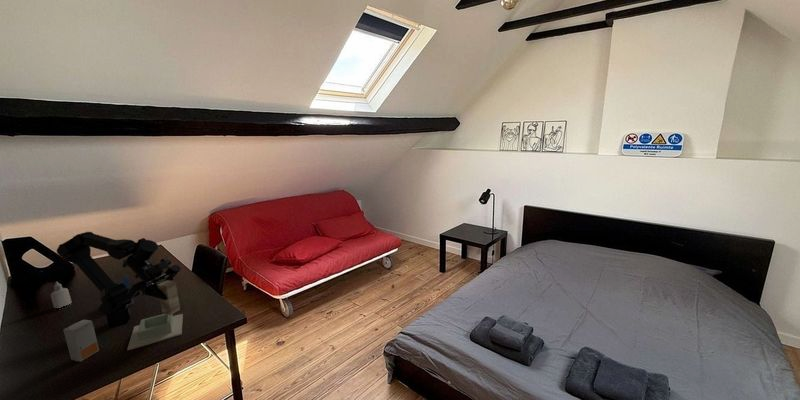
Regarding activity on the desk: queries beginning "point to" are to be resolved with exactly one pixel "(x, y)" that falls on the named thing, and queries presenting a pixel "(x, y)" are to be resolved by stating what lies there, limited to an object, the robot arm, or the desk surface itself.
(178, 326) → the socket board
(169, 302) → the ash peg
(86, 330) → the skincare box
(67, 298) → the eye dropper bottle
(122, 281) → the label tape cartridge
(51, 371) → the desk surface
